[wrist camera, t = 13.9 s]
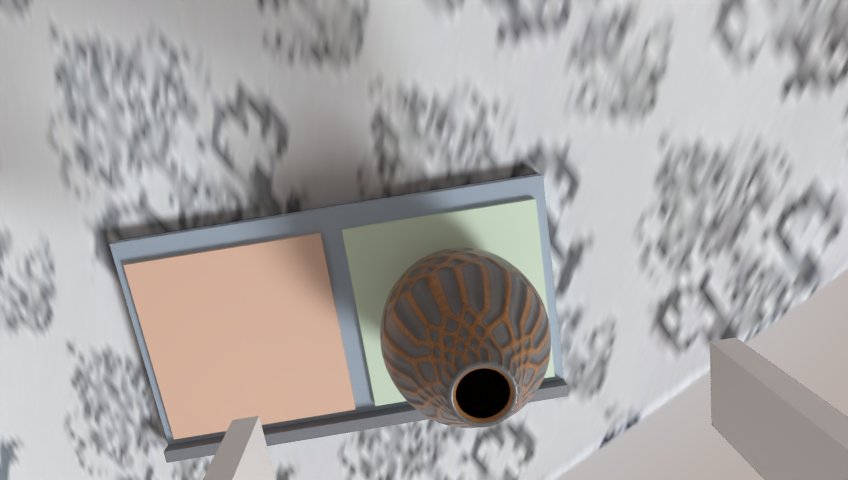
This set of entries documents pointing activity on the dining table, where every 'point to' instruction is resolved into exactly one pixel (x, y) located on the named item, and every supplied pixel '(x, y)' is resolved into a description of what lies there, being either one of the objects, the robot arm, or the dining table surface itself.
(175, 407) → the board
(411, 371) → the vase
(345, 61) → the dining table surface
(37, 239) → the dining table surface
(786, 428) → the robot arm
